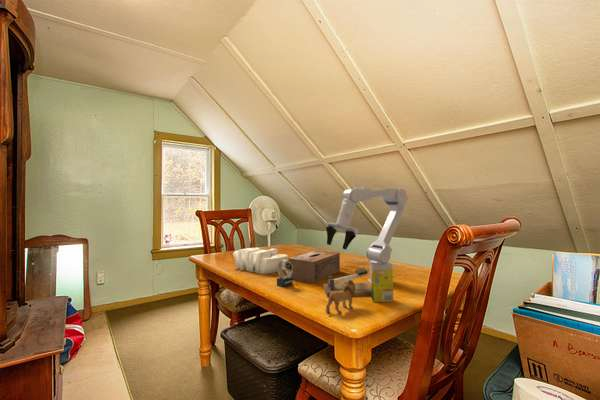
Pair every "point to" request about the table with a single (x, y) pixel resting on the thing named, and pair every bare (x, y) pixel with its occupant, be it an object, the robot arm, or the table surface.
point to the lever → (351, 276)
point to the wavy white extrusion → (258, 260)
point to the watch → (283, 280)
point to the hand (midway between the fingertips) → (336, 246)
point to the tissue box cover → (315, 265)
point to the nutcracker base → (360, 288)
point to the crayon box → (382, 286)
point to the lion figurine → (342, 296)
